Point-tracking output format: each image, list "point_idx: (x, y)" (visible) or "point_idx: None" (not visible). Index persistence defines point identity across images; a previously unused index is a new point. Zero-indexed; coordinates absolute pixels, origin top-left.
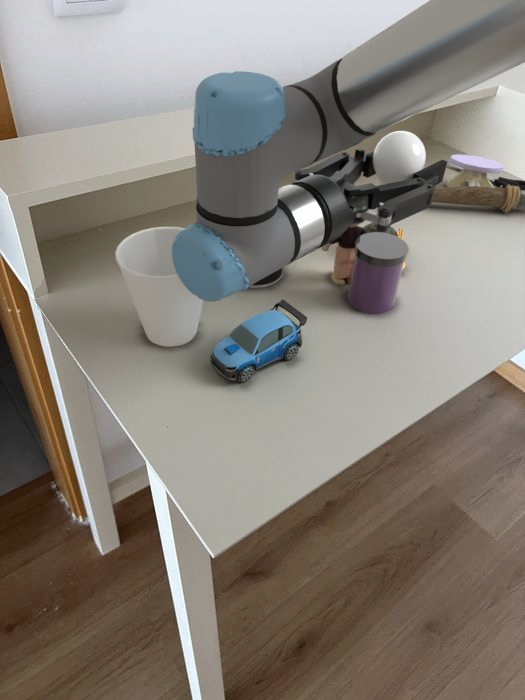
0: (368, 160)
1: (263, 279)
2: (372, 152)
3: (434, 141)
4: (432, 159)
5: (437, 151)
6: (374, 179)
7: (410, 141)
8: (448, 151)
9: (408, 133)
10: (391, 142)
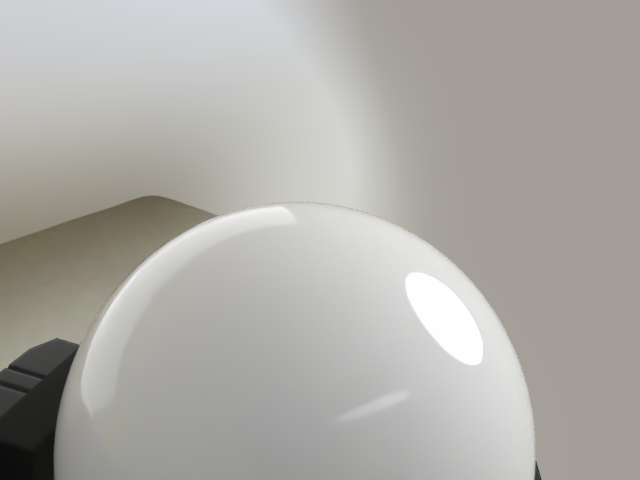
0: (11, 476)
1: None
2: (47, 344)
3: (166, 198)
4: (174, 230)
5: (177, 215)
6: (67, 286)
7: (461, 311)
8: (195, 214)
9: (386, 226)
10: (282, 353)
